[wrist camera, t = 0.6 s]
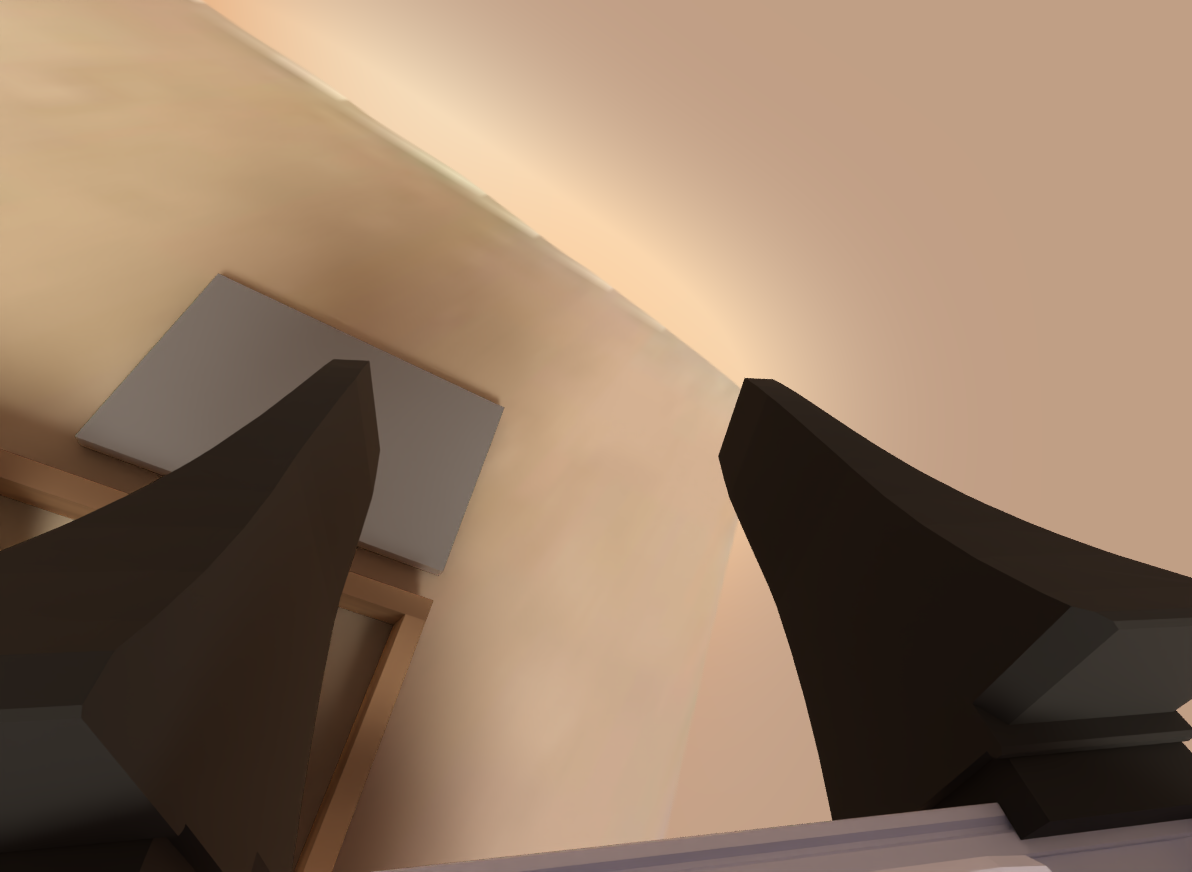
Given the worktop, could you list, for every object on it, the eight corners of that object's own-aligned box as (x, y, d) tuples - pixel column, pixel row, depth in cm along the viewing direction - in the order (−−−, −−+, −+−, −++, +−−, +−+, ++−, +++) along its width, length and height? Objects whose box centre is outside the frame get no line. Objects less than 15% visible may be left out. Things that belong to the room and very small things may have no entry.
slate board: (438, 575, 25) (442, 571, 24) (80, 445, 21) (74, 436, 20) (499, 414, 30) (504, 407, 29) (219, 284, 26) (218, 273, 25)
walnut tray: (260, 1026, 17) (260, 1062, 15) (-749, 908, 11) (-959, 942, 9) (419, 612, 24) (433, 600, 22) (-158, 414, 18) (-209, 375, 16)
